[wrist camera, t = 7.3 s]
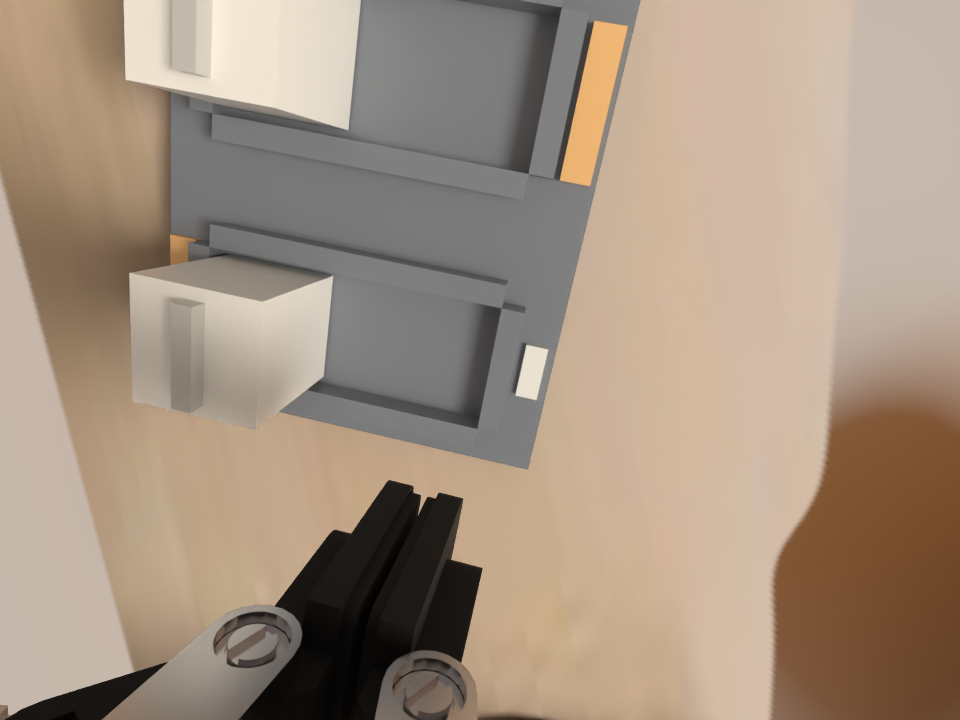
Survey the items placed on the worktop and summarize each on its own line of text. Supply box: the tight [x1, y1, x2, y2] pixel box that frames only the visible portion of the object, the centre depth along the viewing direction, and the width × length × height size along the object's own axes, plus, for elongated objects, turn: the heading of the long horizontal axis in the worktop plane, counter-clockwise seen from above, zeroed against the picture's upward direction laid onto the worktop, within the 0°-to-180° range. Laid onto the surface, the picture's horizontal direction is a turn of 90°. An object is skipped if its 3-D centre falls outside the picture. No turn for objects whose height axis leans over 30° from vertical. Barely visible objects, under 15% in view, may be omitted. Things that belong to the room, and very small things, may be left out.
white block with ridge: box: [124, 0, 361, 130], centre depth 15 cm, size 4×4×6 cm
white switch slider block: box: [129, 254, 333, 430], centre depth 18 cm, size 4×4×6 cm
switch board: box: [170, 0, 640, 469], centre depth 16 cm, size 22×15×7 cm
